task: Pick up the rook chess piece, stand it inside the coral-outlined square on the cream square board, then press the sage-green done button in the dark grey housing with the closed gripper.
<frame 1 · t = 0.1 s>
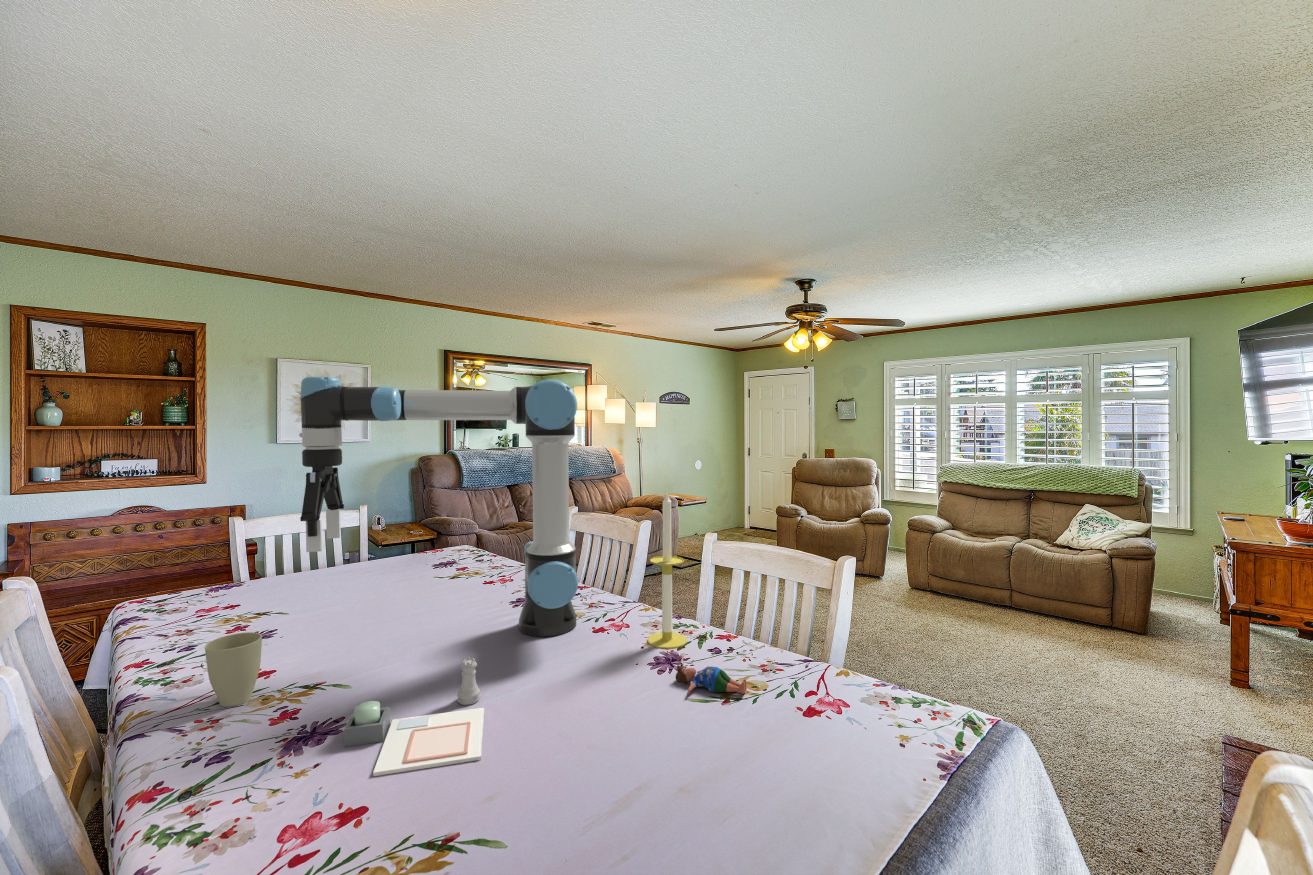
hand: (324, 544, 124), 28 cm above the table, fingers open, 13 cm apart
mug: (234, 699, 112), on the table
done button: (367, 716, 99), point 3 cm above the table, slide at 0.0 cm
cream square board: (434, 740, 97), on the table
paper towel holder: (667, 641, 141), on the table
button housing: (367, 734, 99), on the table
toy character: (709, 689, 116), on the table
rook chess piece: (469, 701, 111), on the table
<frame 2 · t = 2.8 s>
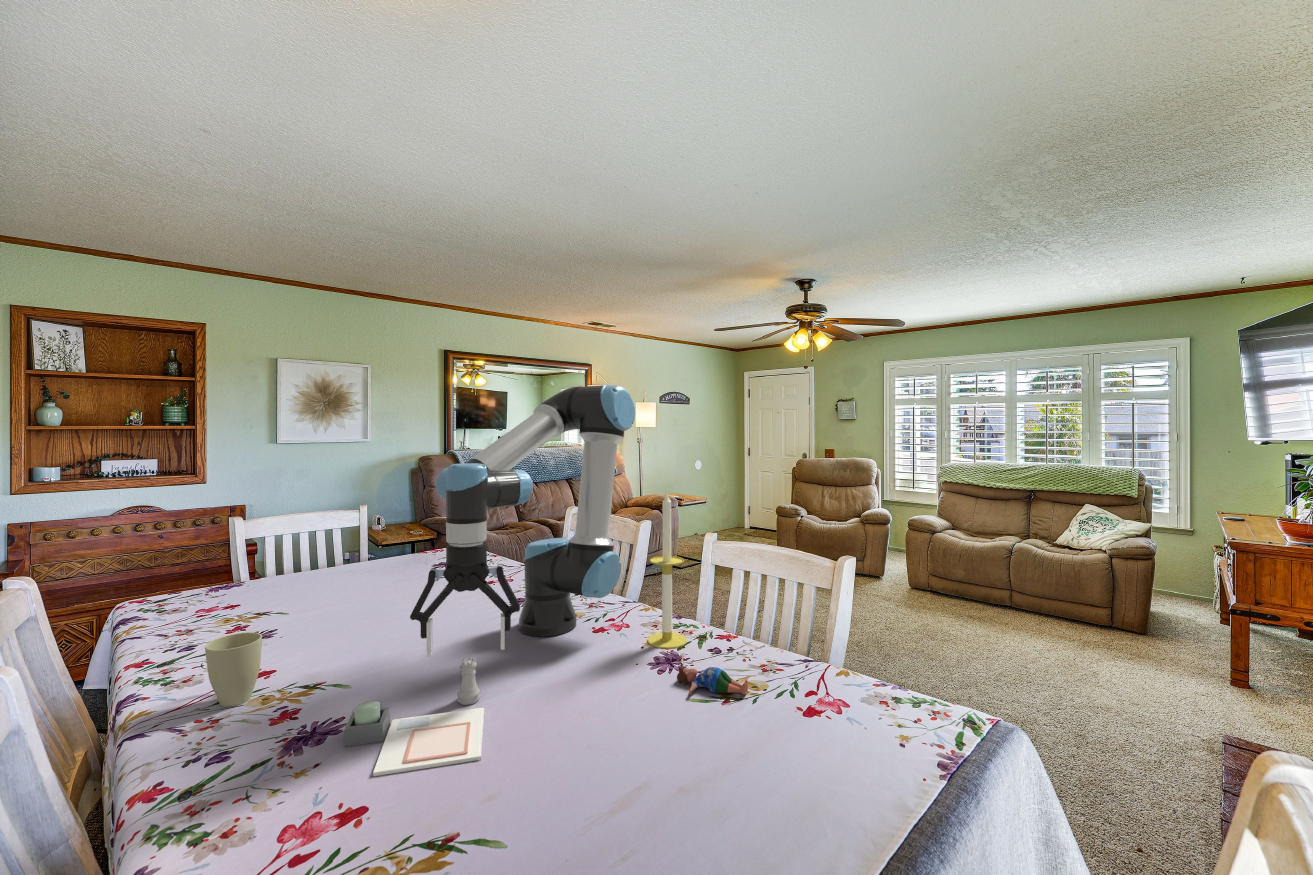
hand: (466, 650, 111), 10 cm above the table, fingers open, 13 cm apart
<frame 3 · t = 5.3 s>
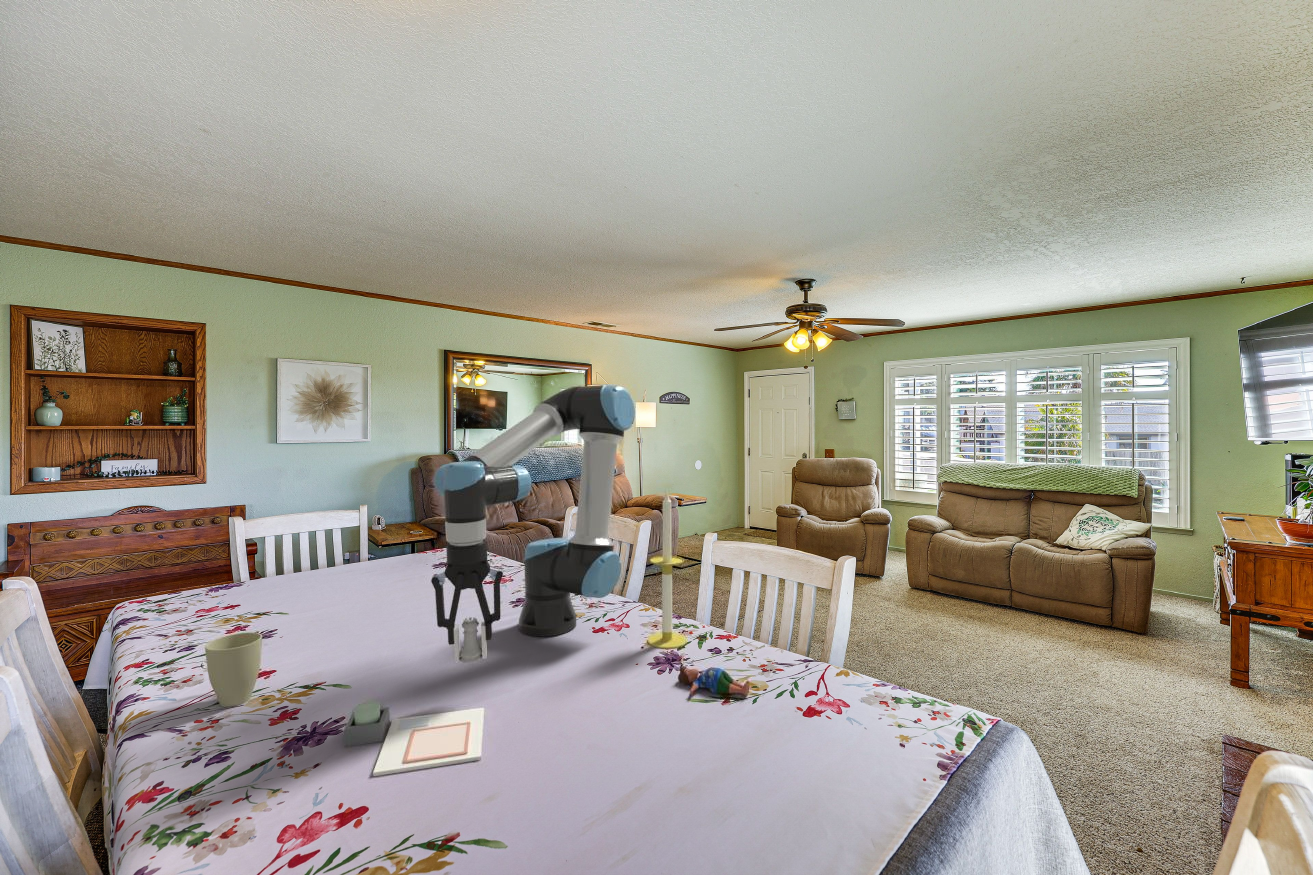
hand: (471, 657, 112), 8 cm above the table, fingers closed on rook chess piece, 4 cm apart
rook chess piece: (471, 660, 111), point 8 cm above the table, touching gripper
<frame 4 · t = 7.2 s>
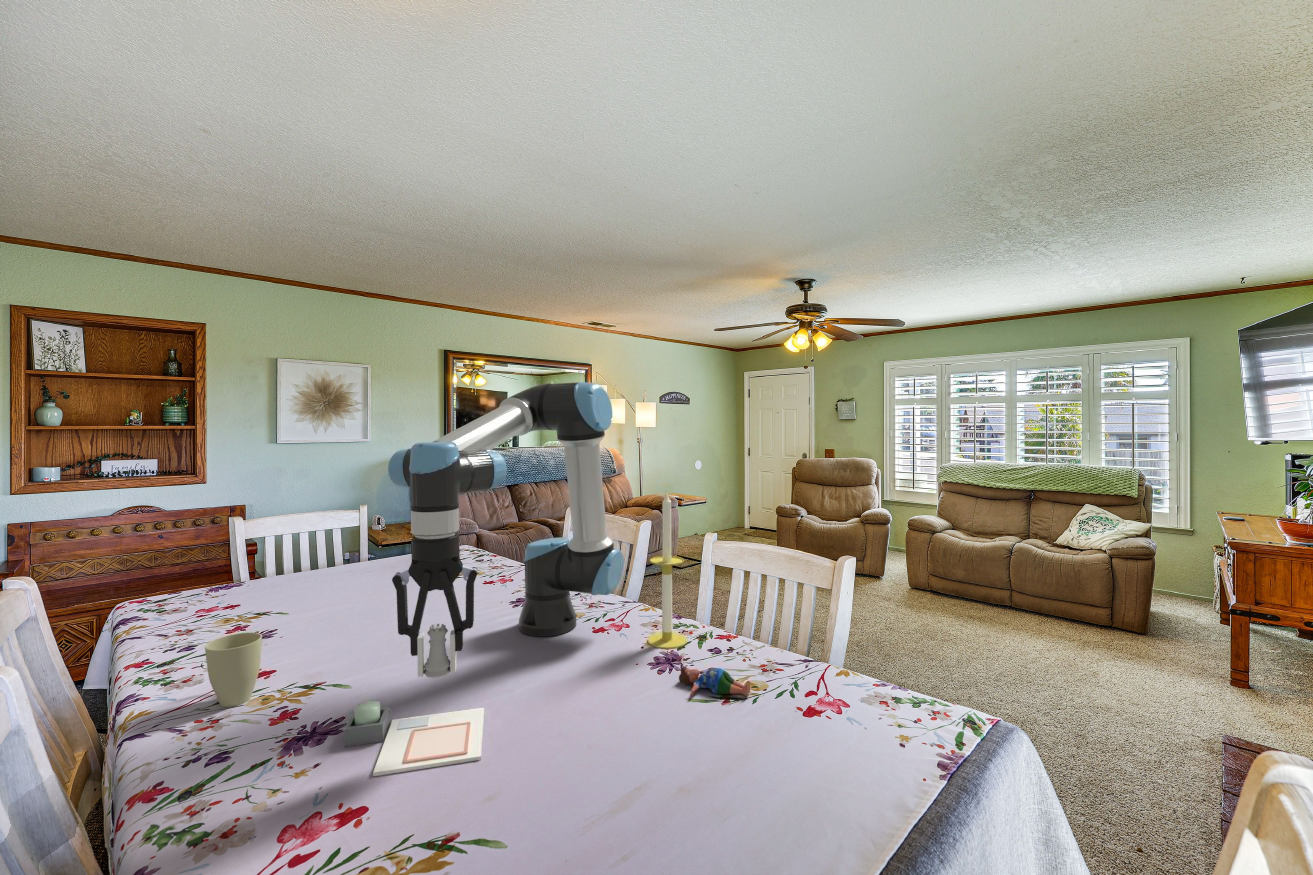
hand: (437, 670, 95), 13 cm above the table, fingers closed on rook chess piece, 4 cm apart
rook chess piece: (437, 674, 95), point 12 cm above the table, touching gripper
everything else where it was.
when the fingers open (1 cm above the table, at t = 9.4 s): rook chess piece stays where it is, resting on cream square board.
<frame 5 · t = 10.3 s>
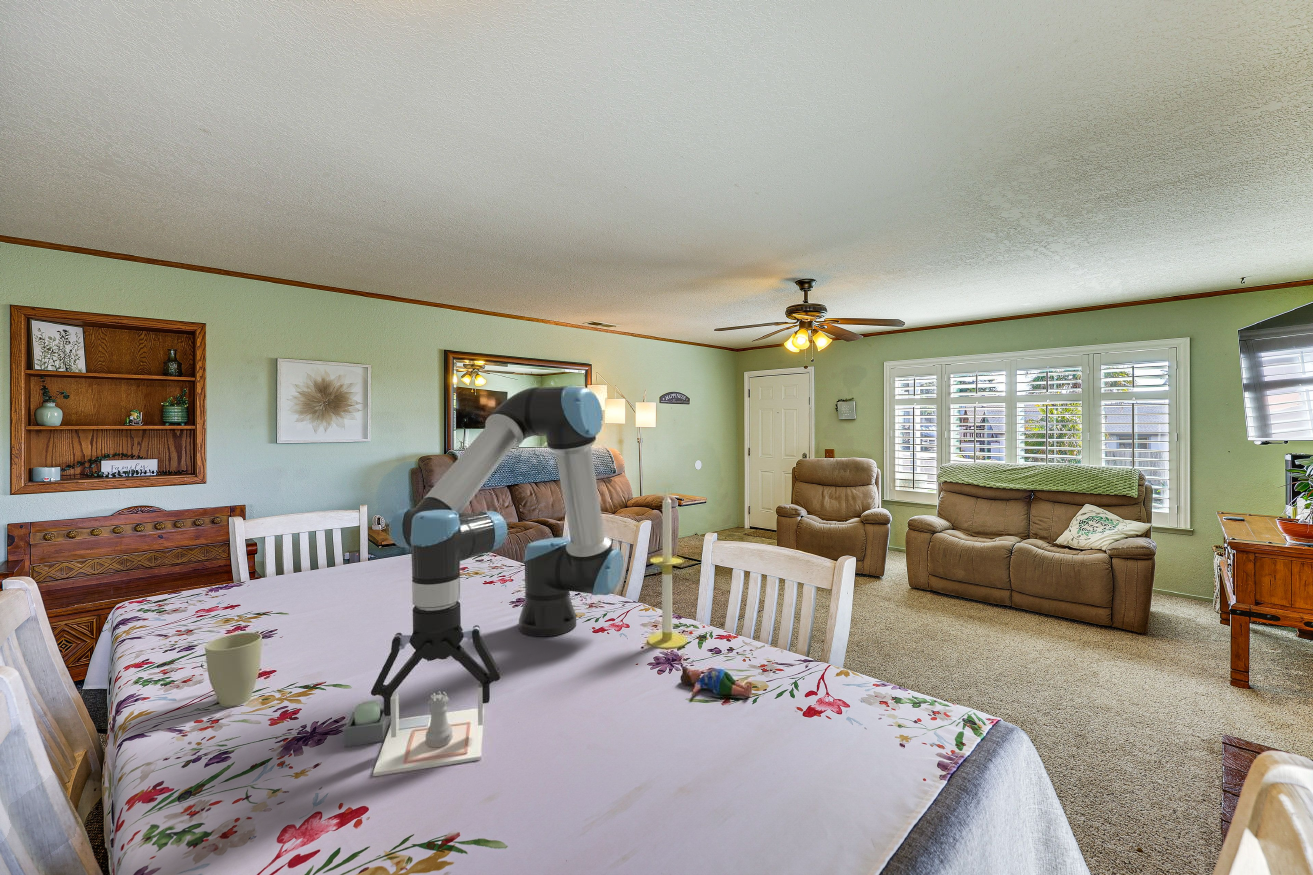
hand: (438, 727, 96), 3 cm above the table, fingers open, 13 cm apart
rook chess piece: (439, 742, 96), point 1 cm above the table, touching cream square board
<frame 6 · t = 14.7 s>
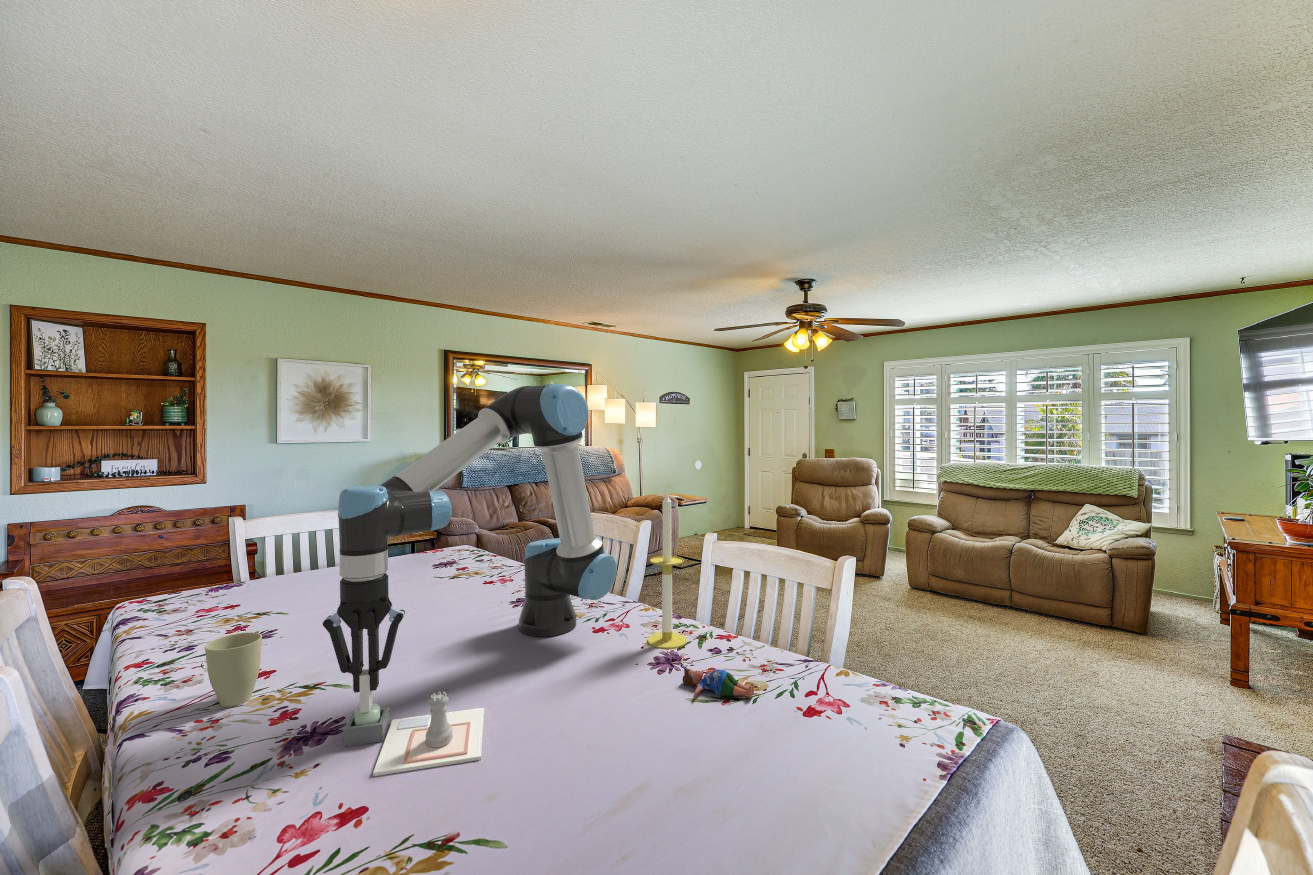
hand: (366, 708, 99), 5 cm above the table, fingers closed
done button: (367, 719, 99), point 3 cm above the table, slide at 0.6 cm, touching gripper
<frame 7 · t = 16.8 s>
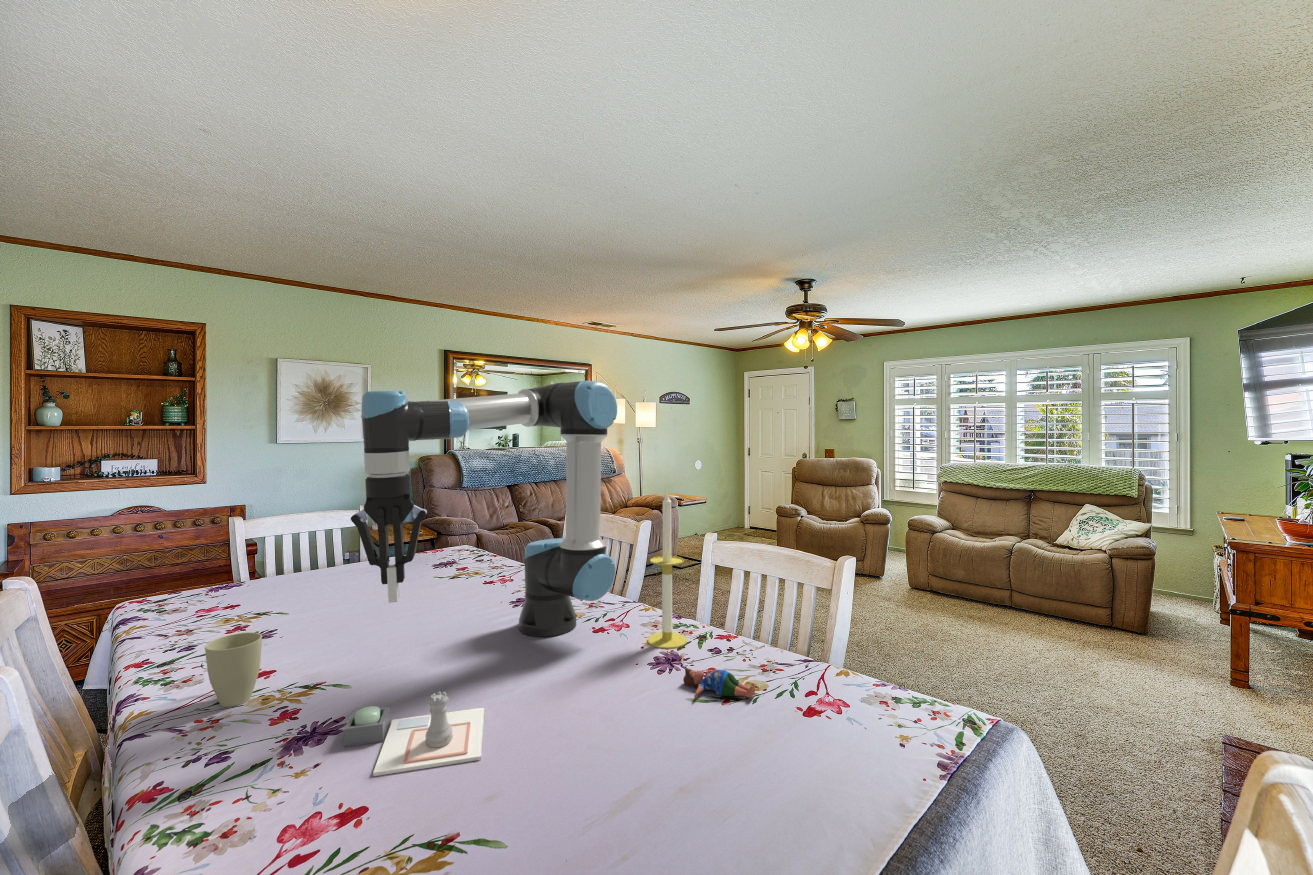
hand: (394, 599, 105), 22 cm above the table, fingers closed
done button: (367, 721, 99), point 2 cm above the table, slide at 1.0 cm
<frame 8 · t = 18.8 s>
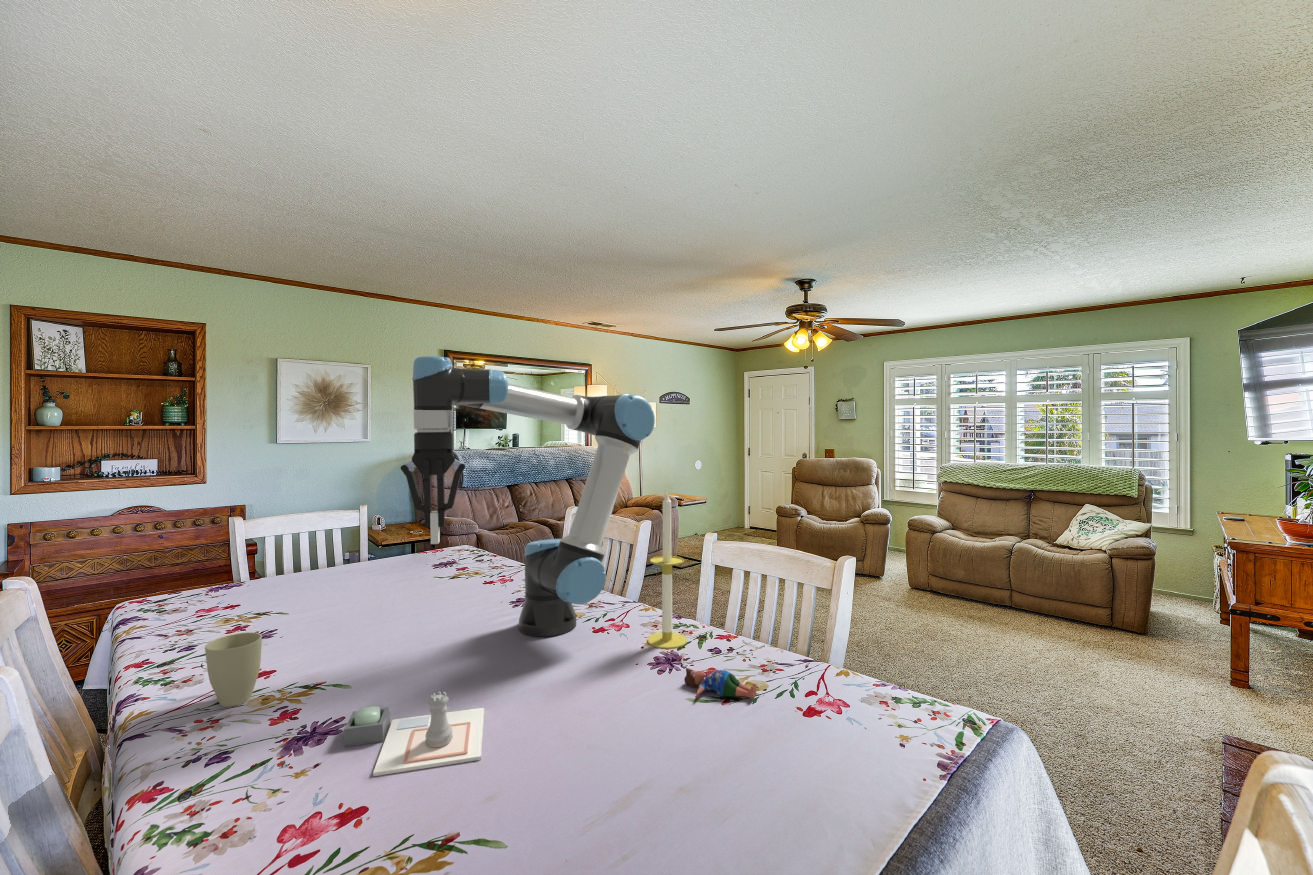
hand: (435, 542, 119), 29 cm above the table, fingers closed
at the end: rook chess piece inside the target area on the cream square board (0.1 cm from its centre), point 0.6 cm above the cream square board's base; rook chess piece tilted 0°; done button slide at 1.0 cm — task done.
